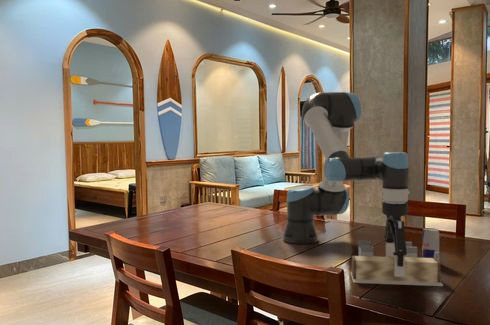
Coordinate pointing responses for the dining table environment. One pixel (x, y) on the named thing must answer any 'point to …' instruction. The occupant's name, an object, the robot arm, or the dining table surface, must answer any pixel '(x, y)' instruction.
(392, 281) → the mat
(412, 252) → the post right
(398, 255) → the robot arm
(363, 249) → the post left
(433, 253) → the energy drink
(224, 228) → the dining table surface
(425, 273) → the rail
